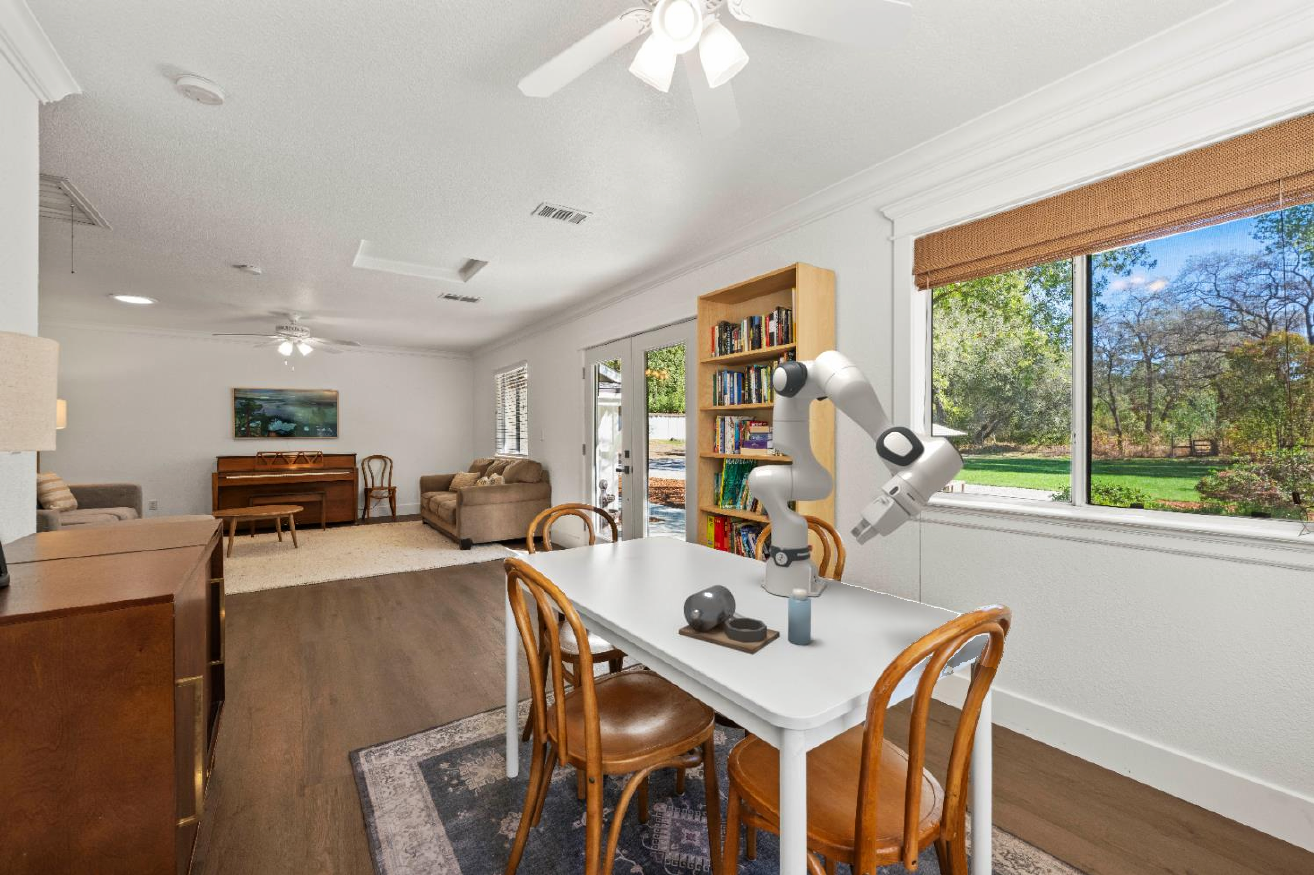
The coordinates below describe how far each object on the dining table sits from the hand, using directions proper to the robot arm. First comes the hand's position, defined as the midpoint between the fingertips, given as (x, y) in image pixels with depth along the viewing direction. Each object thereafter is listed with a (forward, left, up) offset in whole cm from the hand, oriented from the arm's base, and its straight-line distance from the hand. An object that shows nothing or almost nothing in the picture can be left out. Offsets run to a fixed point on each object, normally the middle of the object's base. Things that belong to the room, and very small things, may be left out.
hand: (855, 538), depth 128 cm
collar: (+12, -22, -25) cm, 35 cm away
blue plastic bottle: (+5, -11, -25) cm, 28 cm away
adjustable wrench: (0, -35, -26) cm, 43 cm away
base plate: (+12, -26, -25) cm, 38 cm away
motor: (+13, -32, -24) cm, 42 cm away
